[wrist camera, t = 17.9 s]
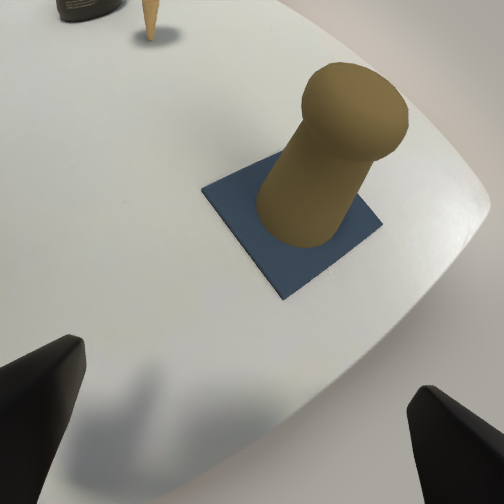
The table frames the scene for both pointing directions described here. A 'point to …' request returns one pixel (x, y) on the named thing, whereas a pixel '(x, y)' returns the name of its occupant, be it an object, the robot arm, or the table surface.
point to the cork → (330, 153)
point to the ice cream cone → (150, 16)
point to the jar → (85, 9)
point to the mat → (269, 247)
